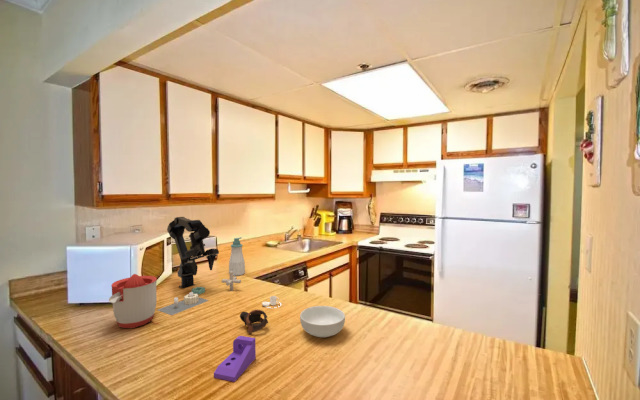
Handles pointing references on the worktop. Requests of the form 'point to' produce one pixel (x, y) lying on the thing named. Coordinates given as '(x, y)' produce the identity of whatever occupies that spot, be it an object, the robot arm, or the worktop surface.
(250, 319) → the pottery mug
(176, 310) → the gear board
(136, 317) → the citrus juicer
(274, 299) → the teacup and saucer
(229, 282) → the pipe connector
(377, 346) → the worktop surface
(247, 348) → the bracket
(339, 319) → the cereal bowl
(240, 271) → the soap bottle
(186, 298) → the cream gear
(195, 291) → the teal gear
